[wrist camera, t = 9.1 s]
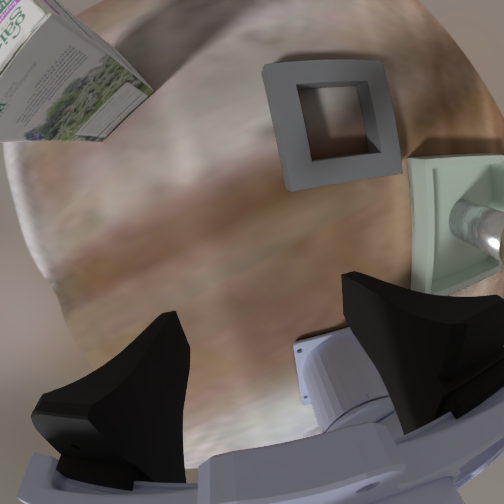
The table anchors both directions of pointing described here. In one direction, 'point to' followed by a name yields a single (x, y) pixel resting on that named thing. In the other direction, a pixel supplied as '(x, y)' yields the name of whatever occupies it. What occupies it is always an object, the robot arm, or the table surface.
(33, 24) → the syrup box
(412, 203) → the tray
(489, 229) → the pin
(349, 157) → the holder
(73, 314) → the table surface
